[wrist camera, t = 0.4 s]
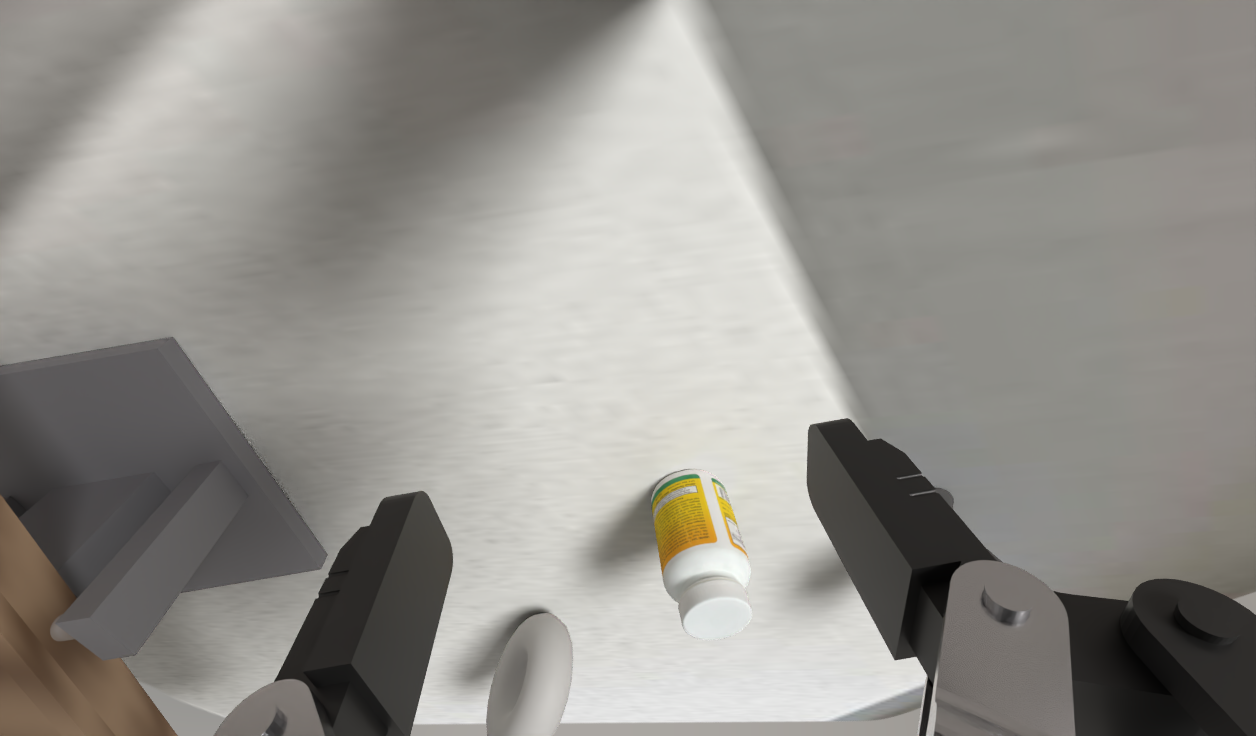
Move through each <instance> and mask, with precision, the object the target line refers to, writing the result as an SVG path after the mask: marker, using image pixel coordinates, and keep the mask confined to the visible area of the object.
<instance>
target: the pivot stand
mask: <svg viewBox="0 0 1256 736" xmlns="http://www.w3.org/2000/svg"><path fill="white" fill-rule="evenodd" d="M0 494H1V496H2V497H3V498H4V500H5V501H6V502H7V504H8V505H9V506H10V508H11V509H12V511H13V512H14V513H15V515H16V516H17V517H18V519H19V520H20V521H21V523H22V524H23V526H24V527H25V528H26V530H27V531H28V532H29V534H30V535H31V536H32V538H33V539H34V541H35V542H36V543H37V545H38V546H39V547H40V549H41V550H42V551H43V553H44V554H45V556H46V557H47V558H48V560H49V561H50V562H51V564H52V565H53V566H54V568H55V569H56V571H57V572H58V573H59V575H60V576H61V577H62V579H63V580H64V581H65V583H66V584H67V586H68V587H69V588H70V590H71V591H72V592H73V594H74V595H75V596H76V598H77V599H76V600H75V601H74V602H73V604H72V605H71V606H70V607H69V608H68V609H67V610H66V611H65V613H64V614H63V615H62V616H61V617H60V618H59V619H58V620H57V622H56V623H55V624H56V625H57V626H59V627H60V628H61V629H63V630H64V631H65V632H66V633H68V634H69V635H70V636H72V637H73V638H74V639H76V640H77V641H78V642H79V643H81V644H82V645H83V646H85V647H86V648H87V649H89V650H90V651H91V652H93V653H94V654H95V655H96V656H98V657H99V658H100V659H102V660H103V661H104V660H110V659H116V658H122V657H128V656H134V655H136V654H137V652H138V651H139V650H140V648H141V647H142V645H143V644H144V643H145V641H146V640H147V638H148V637H149V636H150V634H151V633H152V631H153V630H154V629H155V627H156V626H157V624H158V623H159V622H160V620H161V619H162V617H163V616H164V615H165V613H166V612H167V610H168V609H169V608H170V606H171V605H172V603H173V602H174V601H175V599H176V598H177V596H178V595H179V594H180V593H183V592H189V591H195V590H201V589H206V588H212V587H218V586H224V585H230V584H236V583H242V582H248V581H254V580H260V579H266V578H272V577H278V576H284V575H290V574H296V573H302V572H308V571H314V570H319V569H321V568H322V566H323V563H324V561H325V559H326V557H327V553H326V552H325V550H324V549H323V548H322V546H321V545H320V543H319V542H318V541H317V539H316V538H315V536H314V535H313V534H312V532H311V531H310V529H309V528H308V526H307V525H306V524H305V522H304V521H303V519H302V518H301V517H300V515H299V514H298V512H297V511H296V510H295V508H294V507H293V505H292V504H291V503H290V501H289V500H288V498H287V497H286V496H285V494H284V493H283V491H282V490H281V488H280V487H279V486H278V484H277V483H276V481H275V480H274V479H273V477H272V476H271V474H270V473H269V472H268V470H267V469H266V467H265V466H264V465H263V463H262V462H261V460H260V459H259V457H258V456H257V455H256V453H255V452H254V450H253V449H252V448H251V446H250V445H249V443H248V442H247V441H246V439H245V438H244V436H243V435H242V434H241V432H240V431H239V429H238V428H237V426H236V425H235V424H234V422H233V421H232V419H231V418H230V417H229V415H228V414H227V412H226V411H225V410H224V408H223V407H222V405H221V404H220V403H219V401H218V400H217V398H216V397H215V396H214V394H213V393H212V391H211V390H210V388H209V387H208V386H207V384H206V383H205V381H204V380H203V379H202V377H201V376H200V374H199V373H198V372H197V370H196V369H195V367H194V366H193V365H192V363H191V362H190V360H189V359H188V357H187V356H186V355H185V353H184V352H183V350H182V349H181V348H180V346H179V345H178V343H177V342H176V341H175V339H174V338H173V337H171V338H165V339H159V340H153V341H147V342H141V343H135V344H129V345H123V346H117V347H111V348H105V349H99V350H93V351H87V352H81V353H75V354H70V355H64V356H58V357H52V358H46V359H40V360H34V361H28V362H22V363H16V364H10V365H4V366H0Z"/></svg>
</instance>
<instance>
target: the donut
mask: <svg viewBox="0 0 1256 736" xmlns="http://www.w3.org/2000/svg"><path fill="white" fill-rule="evenodd" d="M572 669H573V648H572V641H571V638H570V635H569V632H568V630H567V627H566V626H565V624H564V623H563V622H562V621H561V620H560V619H558V618H557V617H556V616H554V615H552V614H549V613H542V614H536V615H533V616H530V617H529V618H528V619H526V620H525V621H524V622H523V623H522V624H520V625H519V626H518V628H517V629H516V631H515V632H514V634H513V635H512V637H511V638H510V639H509V641H508V643H507V645H506V647H505V649H504V651H503V653H502V655H501V658H500V661H499V663H498V666H497V668H496V672H495V675H494V678H493V682H492V685H491V690H490V695H489V700H488V707H487V719H486V725H487V736H554V734H555V731H556V729H557V728H558V725H559V724H560V721H561V718H562V715H563V712H564V709H565V706H566V703H567V700H568V695H569V690H570V686H571V680H572Z"/></svg>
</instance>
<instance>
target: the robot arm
mask: <svg viewBox="0 0 1256 736" xmlns="http://www.w3.org/2000/svg"><path fill="white" fill-rule="evenodd" d="M807 487H808V493H809V497H810V500H811V503H812V506H813V508H814V510H815V512H816V514H817V516H818V518H819V520H820V521H821V523H822V525H823V527H824V529H825V531H826V533H827V535H828V536H829V538H830V540H831V542H832V544H833V546H834V548H835V549H836V551H837V553H838V555H839V557H840V559H841V561H842V563H843V564H844V566H845V568H846V570H847V572H848V574H849V576H850V577H851V579H852V581H853V583H854V585H855V587H856V589H857V591H858V592H859V594H860V596H861V598H862V600H863V602H864V604H865V606H866V607H867V609H868V611H869V613H870V615H871V617H872V619H873V620H874V622H875V624H876V626H877V628H878V630H879V632H880V634H881V635H882V637H883V639H884V641H885V643H886V645H887V647H888V648H889V650H890V652H891V654H892V656H893V658H894V660H900V659H906V658H911V657H917V658H918V660H919V662H920V663H921V665H922V667H923V669H924V670H925V672H926V674H927V677H926V681H925V686H924V693H923V700H922V706H921V713H920V719H919V726H918V733H917V736H1256V615H1255V614H1254V613H1252V612H1251V611H1250V610H1248V609H1247V608H1245V607H1244V606H1242V605H1241V604H1239V603H1238V602H1236V601H1234V600H1232V599H1231V598H1229V597H1227V596H1225V595H1223V594H1221V593H1218V592H1216V591H1214V590H1212V589H1209V588H1206V587H1204V586H1201V585H1198V584H1194V583H1190V582H1186V581H1181V580H1175V579H1154V580H1149V581H1146V582H1144V583H1141V584H1140V585H1139V586H1138V587H1137V588H1136V589H1135V591H1134V592H1133V594H1132V596H1131V598H1130V600H1129V601H1124V600H1115V599H1106V598H1098V597H1089V596H1080V595H1072V594H1065V593H1059V592H1055V591H1053V590H1052V589H1051V588H1049V587H1048V586H1047V585H1046V584H1045V583H1044V582H1042V581H1041V580H1040V579H1038V578H1037V577H1035V576H1034V575H1032V574H1030V573H1029V572H1027V571H1025V570H1023V569H1020V568H1018V567H1016V566H1013V565H1010V564H1007V563H1003V562H998V561H997V560H996V559H995V558H994V557H993V556H992V555H991V554H990V553H989V551H988V550H987V549H986V548H985V547H984V546H983V544H982V543H981V542H980V541H979V540H978V538H977V537H976V536H975V535H974V534H973V533H972V531H971V530H970V529H969V528H968V527H967V526H966V524H965V523H964V522H963V521H962V520H961V518H960V517H959V516H958V515H957V514H956V513H955V511H954V510H953V509H952V508H951V507H950V506H949V504H948V503H947V502H946V501H945V500H944V499H943V497H942V496H941V495H940V494H939V493H936V491H935V488H934V487H933V486H932V484H931V483H930V482H929V481H928V480H927V479H926V477H923V476H922V473H921V471H920V470H919V469H918V468H917V467H916V466H915V464H914V463H913V462H912V461H911V460H910V459H909V457H908V456H907V455H906V454H905V453H904V452H902V451H900V450H899V449H897V448H895V447H894V446H892V445H891V444H889V443H887V442H886V441H884V440H882V439H875V440H869V441H867V439H866V438H865V437H864V436H863V434H862V433H861V432H860V430H859V429H858V428H857V427H856V425H855V424H854V423H853V422H852V421H851V420H850V419H848V418H846V419H840V420H834V421H829V422H823V423H817V424H812V425H810V427H809V430H808V454H807ZM452 566H453V553H452V547H451V543H450V540H449V538H448V536H447V534H446V532H445V530H444V527H443V525H442V523H441V521H440V519H439V517H438V515H437V513H436V511H435V509H434V506H433V504H432V502H431V500H430V498H429V496H428V495H427V494H426V493H425V492H423V491H419V492H413V493H407V494H401V495H396V496H390V497H386V498H384V499H383V500H382V501H381V503H380V505H379V507H378V509H377V511H376V513H375V515H374V518H373V520H372V522H371V524H370V526H366V527H360V529H359V530H358V531H357V532H356V533H355V534H354V535H353V536H352V537H351V538H350V540H349V541H348V542H347V543H346V544H345V545H344V546H343V547H342V548H341V549H340V551H339V553H338V555H337V557H336V559H335V561H334V563H333V565H332V567H331V569H330V571H329V573H328V574H329V578H326V579H325V581H324V583H323V585H322V587H321V589H320V591H319V593H318V594H319V598H318V599H315V601H314V603H313V605H312V607H311V609H310V611H309V613H308V615H307V617H306V619H305V621H304V623H303V625H302V627H301V629H300V631H299V634H298V636H297V638H296V640H295V642H294V644H293V646H292V648H291V650H290V652H289V654H288V656H287V658H286V660H285V662H284V664H283V666H282V668H281V670H280V672H279V674H278V676H277V677H276V679H275V681H274V683H271V684H268V685H266V686H264V687H262V688H261V689H259V690H257V691H256V692H254V693H253V694H251V695H250V696H249V697H247V698H246V699H245V700H243V701H242V702H241V703H240V704H239V705H238V706H237V707H236V708H235V709H234V710H233V711H232V712H231V713H230V714H229V715H228V716H227V717H226V719H225V720H224V721H223V722H222V724H221V725H220V726H219V728H218V730H217V731H216V733H215V734H214V736H410V734H411V730H412V726H413V722H414V718H415V714H416V710H417V706H418V702H419V699H420V695H421V691H422V687H423V683H424V679H425V675H426V671H427V667H428V663H429V659H430V655H431V651H432V647H433V643H434V639H435V636H436V632H437V628H438V624H439V620H440V616H441V612H442V608H443V604H444V600H445V596H446V592H447V588H448V584H449V580H450V577H451V572H452Z"/></svg>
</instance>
